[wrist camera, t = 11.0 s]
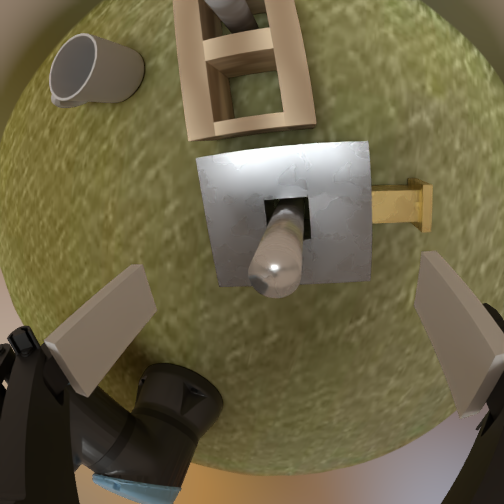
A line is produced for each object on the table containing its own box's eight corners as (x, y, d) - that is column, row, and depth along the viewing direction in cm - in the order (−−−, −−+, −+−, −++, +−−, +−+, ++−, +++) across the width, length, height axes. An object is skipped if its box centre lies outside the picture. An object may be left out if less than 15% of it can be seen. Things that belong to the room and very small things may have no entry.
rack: (215, 140, 27) (171, 141, 18) (199, 18, 22) (157, -19, 13) (313, 128, 25) (318, 120, 16) (291, 1, 19) (281, -50, 10)
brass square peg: (326, 223, 28) (329, 236, 24) (323, 180, 26) (326, 187, 23) (415, 219, 26) (430, 231, 22) (415, 178, 24) (432, 185, 20)
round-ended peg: (280, 216, 29) (251, 298, 14) (277, 192, 28) (244, 252, 13) (305, 215, 28) (302, 297, 14) (303, 190, 27) (299, 248, 13)
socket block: (234, 261, 32) (219, 286, 26) (217, 154, 28) (195, 158, 22) (359, 254, 29) (370, 280, 23) (355, 141, 24) (368, 141, 19)
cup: (154, 80, 25) (105, 67, 17) (96, 127, 29) (44, 131, 20) (135, 38, 23) (88, 20, 15) (80, 86, 27) (31, 83, 18)
